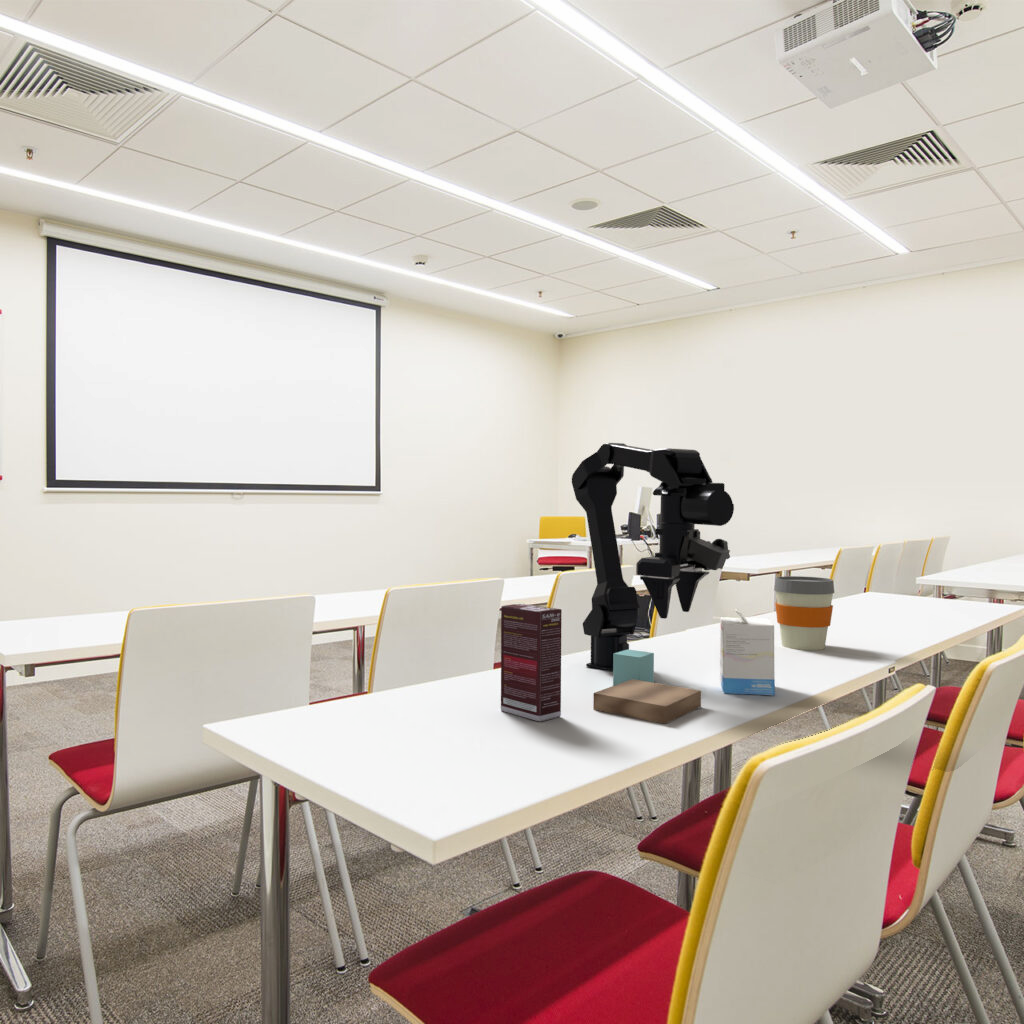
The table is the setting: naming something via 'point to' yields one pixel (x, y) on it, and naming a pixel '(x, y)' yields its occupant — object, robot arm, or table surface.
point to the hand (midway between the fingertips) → (675, 614)
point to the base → (647, 700)
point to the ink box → (747, 655)
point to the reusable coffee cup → (804, 611)
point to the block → (633, 666)
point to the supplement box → (531, 661)
